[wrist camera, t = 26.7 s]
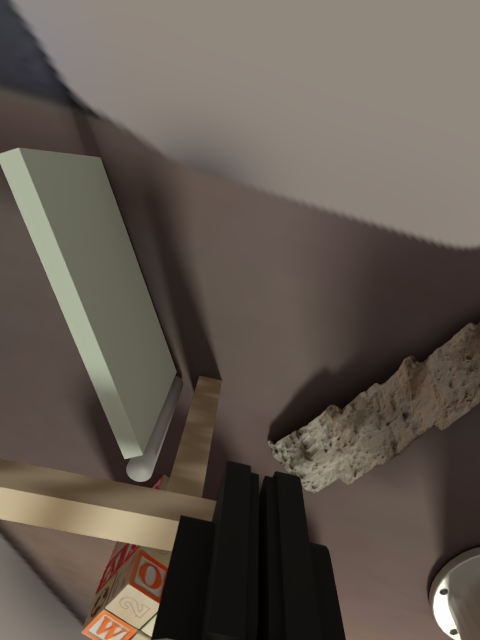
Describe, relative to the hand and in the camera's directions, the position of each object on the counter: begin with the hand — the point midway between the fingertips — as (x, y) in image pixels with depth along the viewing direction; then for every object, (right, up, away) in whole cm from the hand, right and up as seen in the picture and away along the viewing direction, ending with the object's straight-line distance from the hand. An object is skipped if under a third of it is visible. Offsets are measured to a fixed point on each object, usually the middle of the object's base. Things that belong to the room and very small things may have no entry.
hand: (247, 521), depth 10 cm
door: (-8, +7, +26) cm, 28 cm away
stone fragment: (+10, +1, +27) cm, 29 cm away
